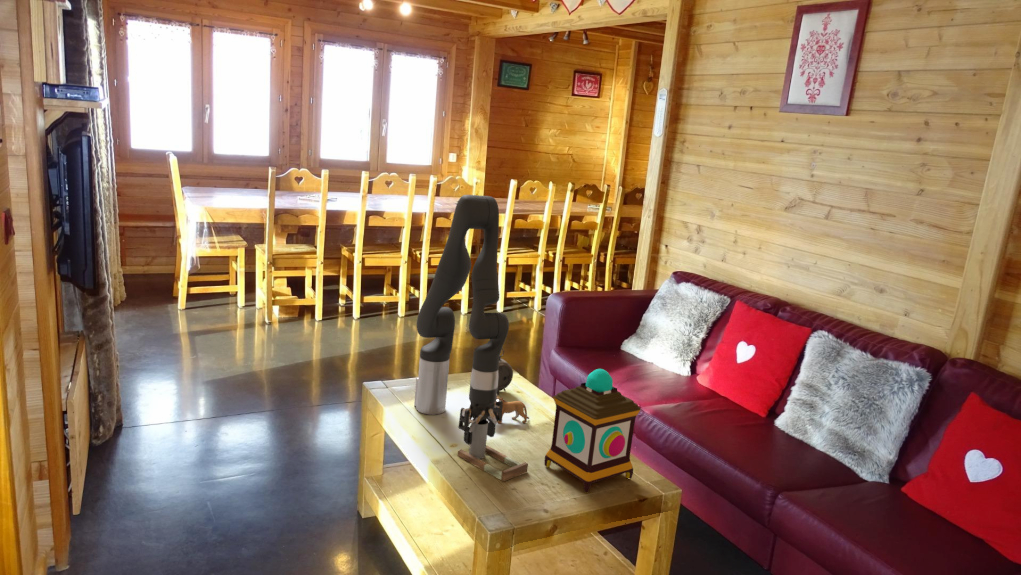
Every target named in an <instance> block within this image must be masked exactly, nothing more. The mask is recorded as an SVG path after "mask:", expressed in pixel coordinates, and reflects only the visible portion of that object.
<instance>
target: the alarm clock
mask: <svg viewBox="0 0 1021 575" xmlns="http://www.w3.org/2000/svg"><path fill="white" fill-rule="evenodd" d="M503 348H504V347H502V350H501V351H503V352H502V355H500V356H499V368H498V389H497V396H499V395H500V392H501V391H502V390H503V391H506V390H507V389H506V388H507V387H508V386H510V384H511V382H512V380H513V377H514V370H513V367H512V365H511V364H510V363H508V362H507V360H505V359H503V358H502V357H503V356H504V354H505V350H504V349H503Z"/></svg>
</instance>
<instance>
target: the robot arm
mask: <svg viewBox="0 0 1021 575" xmlns="http://www.w3.org/2000/svg"><path fill="white" fill-rule="evenodd" d="M499 226H500V211H499V203H498V201H497V200H496V198H495V197H493V196H490V195H478V194H477V195H476V194H464V195H462V196H460V198H459V199H458V201H457V202H456V205H455V209H454V212H453V216H452V221H451V225H450V229H449V233H448V237H447V240H446V243H445V246H444V249H443V251H442V255H441V257H440V259H439V261H438V264H437V268H436V270H435V273H434V276H433V280H432V283H431V286H430V288H429V291H428V293H427V295H426V296H425V299H424V300H423V304H422V305H421V307H420V309H419V311H418V314H417V319H416V331H417V333H418V334H419V336H420V337H421V338H427V339H431V338H432V339H433V338H434V339H433V340H432V341H430V342H428V343H427V344H425V345H423V346H421V348H420V352H419V363H418V376H417V378H416V379H415V388H414V389H415V391H414V402H413V403H414V407H415V406H416V407H415V409H416V411H417V410H418V411H417V412H419V413H421V414H424V415H431V416H432V415H433V416H434V415H440V414H443V413H444V412H446V407H447V406H446V404H447V394H448V392H447V391H448V380H449V369H450V356H451V353H452V350H453V341H454V335H455V327H456V326H455V325H456V317H455V314H454V311H453V309H452V308H451V307H450V306H449V307H448V306H444V304H446V303H447V302H448V301H450V300H451V298H453V297H454V296H455V295H457V293H458V292H460V290H462V288H463V287H464V286H465V284H466V282H467V280H468V277H469V274H470V272H471V269H472V272H471V285H472V298H473V299H472V307H471V313H470V317H469V323H468V329H469V333H470V335H471V336H472V337H473V338H474V339H475V340H488V341H487V342H486V343H484V344H482V345H481V344H480V345H478V346H477V347H475V348H474V351H473V357H472V358H473V359H472V368H471V372H470V382H469V383H470V384H469V392H468V393H469V394H468V395H469V396H468V399H469V403H470V404H469V407H468V408H464V407H461V409H460V412H459V421H458V426H457V427H458V430H461V431H463V442H464V443H465V444H466V445H469V446H470V444H472V434H473V432H472V430H473V429H474V427H475V426H476V425H477V424H478V423H479V422H480V421H482V420H487V421H488V430H487V437H490V438H494V437H495V435H496V434H495V433H496V425H497V424H498V421H501V420H502V421H503V417H502V407H503V402H502V401H501V400H498V399H497V396H498V395H497V389H498V368H499V356H501V353H502V351H503V350H502V348H504V344H505V341H506V339H507V336H508V333H509V329H510V322H509V319H508V317H507V315H506V314H505V313H504V312H497V311H495V312H485V308H486V307H487V306H489V305H493V304H496V303H498V302H499V301H500V288H499V277H498V249H499V248H498V247H499V232H500V231H499V228H500V227H499ZM469 230H483V238H484V239H483V245H482V248H481V249H480V252H479V254H478V256H477V258H476V260H475V263H474V264H473V267H472V259H471V257H470V253H469V251H468V249H467V245H466V235H467V233H468V231H469ZM492 410H493V411H492ZM497 412H498V415H497ZM473 419H475V420H474V421H473Z"/></svg>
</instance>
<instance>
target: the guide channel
mask: <svg viewBox="0 0 1021 575" xmlns="http://www.w3.org/2000/svg"><path fill="white" fill-rule="evenodd" d="M485 454H486V455H489V456H491V457H492V458H495V459H497V460H499V461H500V462H502V463H504V464H506V465H508V466H509V468H507V469H504V470H500V469H498V468H495V467H494V466H492V465H490V464H489V463H487V462H485V461H484V460H481V459H478V458H476V457H474V456H472V455H471V454H469V452H467V451H464V449H458V450H457V456H458V457H460V458H462V459H463V460H464V461H466V462H468V463H470V464H472V465H473V466H476V467H477V468H479V469H480V470H483V471H484V472H486V473H488V474H489V475H491V476H493V477H495V478H497V479H498V480H501V481H502V482H507V481H509V480H512V479H514V478H515V477H518V476H522V475H524V474H526V473H528V467H529V463H528V462H525V461H524V462H522V463H521V462H520V461H517V460H515V459H513V458H511V457H509V456H507V455H506V454H504V453H501V452H500V451H498V450H496V449H494V448H492V447H491V446H488V445H487V444H486V450H485Z"/></svg>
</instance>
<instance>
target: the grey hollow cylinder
mask: <svg viewBox="0 0 1021 575" xmlns="http://www.w3.org/2000/svg"><path fill="white" fill-rule="evenodd" d="M472 420H473V421H474V420H475V419H473V418H472ZM488 422H489V421H488V420H487V419H486V420H482V421H480V422H479V423H478V424H477V425H476V426H475V427H474V429H473V430H472V432H473V434H472V444H470V445H469V447H468V448H469V450H468V453H469V454H471V455H472V456H474V457H476V458H478V459H480V460H481V459H484V458H485V457H486V453H485V450H486V445H487V441H488V440H487V438H488V435H487V430H488Z"/></svg>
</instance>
